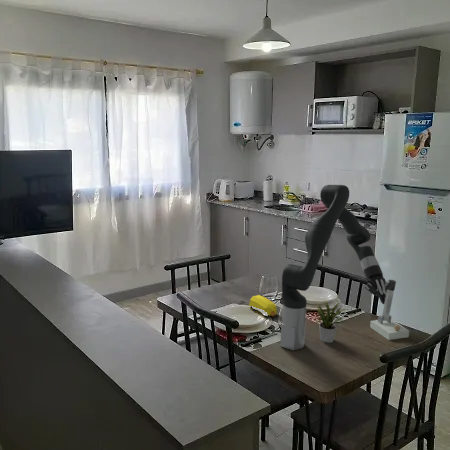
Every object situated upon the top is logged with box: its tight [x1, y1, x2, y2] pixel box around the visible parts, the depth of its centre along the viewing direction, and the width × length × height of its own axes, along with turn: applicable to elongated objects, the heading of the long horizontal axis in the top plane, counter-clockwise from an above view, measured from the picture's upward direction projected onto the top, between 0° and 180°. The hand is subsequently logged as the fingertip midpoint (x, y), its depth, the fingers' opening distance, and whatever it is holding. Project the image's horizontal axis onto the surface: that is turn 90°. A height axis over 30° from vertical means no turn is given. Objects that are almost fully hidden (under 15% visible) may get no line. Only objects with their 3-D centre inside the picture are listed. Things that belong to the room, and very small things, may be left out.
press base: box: [369, 314, 410, 341], centre depth 197 cm, size 13×10×6 cm
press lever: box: [381, 279, 397, 321], centre depth 197 cm, size 3×3×19 cm
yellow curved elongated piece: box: [248, 294, 278, 317], centre depth 217 cm, size 18×7×8 cm
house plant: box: [315, 300, 349, 343], centre depth 188 cm, size 14×14×16 cm
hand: (385, 303), depth 199 cm, fingers closed
